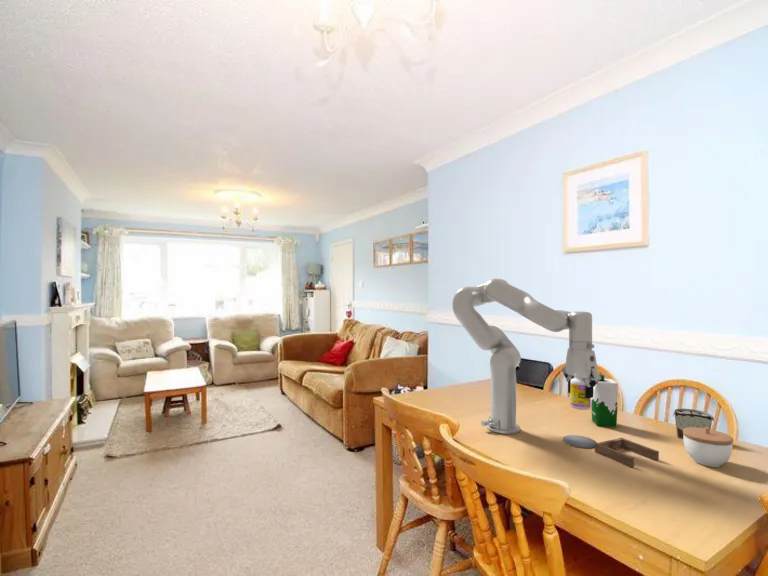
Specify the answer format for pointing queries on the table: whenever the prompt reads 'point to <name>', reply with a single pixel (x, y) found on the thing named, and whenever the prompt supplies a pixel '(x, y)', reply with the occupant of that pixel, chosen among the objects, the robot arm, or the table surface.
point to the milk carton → (605, 403)
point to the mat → (579, 441)
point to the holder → (610, 449)
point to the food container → (691, 420)
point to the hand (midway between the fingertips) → (580, 394)
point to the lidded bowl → (707, 446)
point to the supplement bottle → (579, 394)
